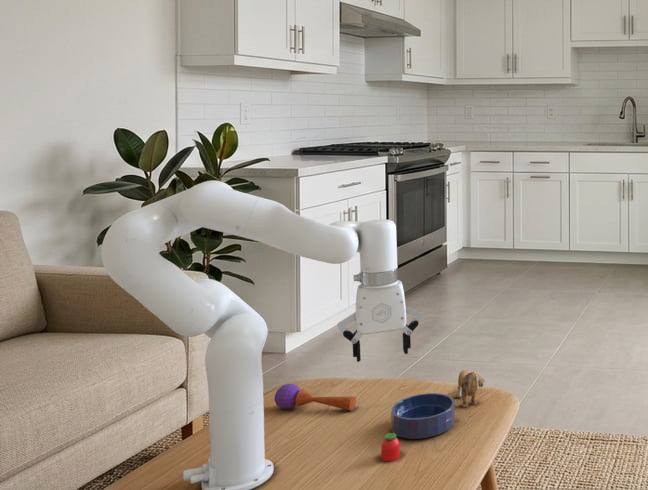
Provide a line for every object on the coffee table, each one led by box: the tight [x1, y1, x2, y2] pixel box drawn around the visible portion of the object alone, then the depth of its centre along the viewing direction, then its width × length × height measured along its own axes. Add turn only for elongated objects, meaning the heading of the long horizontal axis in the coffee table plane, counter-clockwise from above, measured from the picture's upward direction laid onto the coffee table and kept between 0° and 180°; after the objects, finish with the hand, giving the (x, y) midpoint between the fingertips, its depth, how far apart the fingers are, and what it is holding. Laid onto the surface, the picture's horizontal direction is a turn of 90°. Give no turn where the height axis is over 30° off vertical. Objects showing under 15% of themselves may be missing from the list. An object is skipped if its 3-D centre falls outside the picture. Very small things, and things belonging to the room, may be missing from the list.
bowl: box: [390, 392, 456, 440], centre depth 157 cm, size 14×14×5 cm
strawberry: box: [380, 432, 401, 462], centre depth 143 cm, size 4×4×5 cm
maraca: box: [274, 383, 357, 412], centre depth 167 cm, size 6×6×20 cm
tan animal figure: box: [456, 369, 486, 408], centre depth 171 cm, size 15×5×9 cm, turn 33°
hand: (382, 355), depth 144 cm, fingers open, 9 cm apart
